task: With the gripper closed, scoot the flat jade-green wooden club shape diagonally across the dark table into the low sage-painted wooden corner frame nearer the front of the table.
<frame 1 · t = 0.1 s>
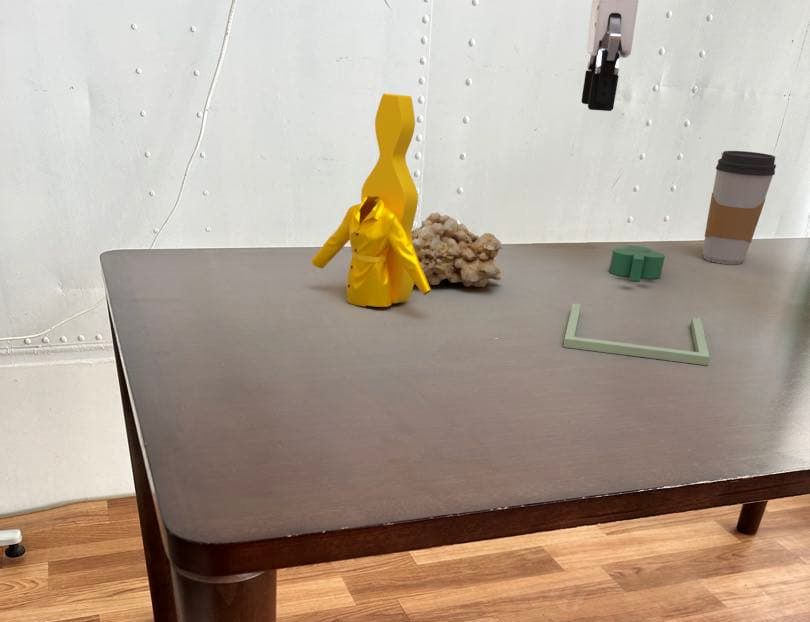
hand: (596, 107, 109), 20 cm above the table, tool pointing down, fingers open, 9 cm apart
mineral formation: (450, 280, 109), on the table
club: (634, 272, 117), on the table
pocket: (634, 335, 93), on the table
coffee cup: (722, 261, 127), on the table
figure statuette: (377, 303, 98), on the table
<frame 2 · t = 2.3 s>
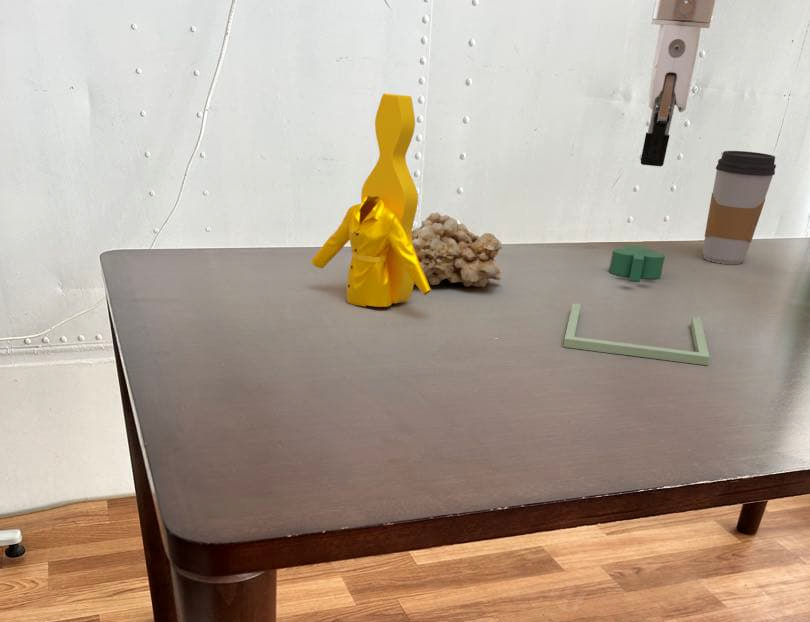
hand: (651, 164, 117), 13 cm above the table, tool pointing down, fingers closed
nothing on the table moved.
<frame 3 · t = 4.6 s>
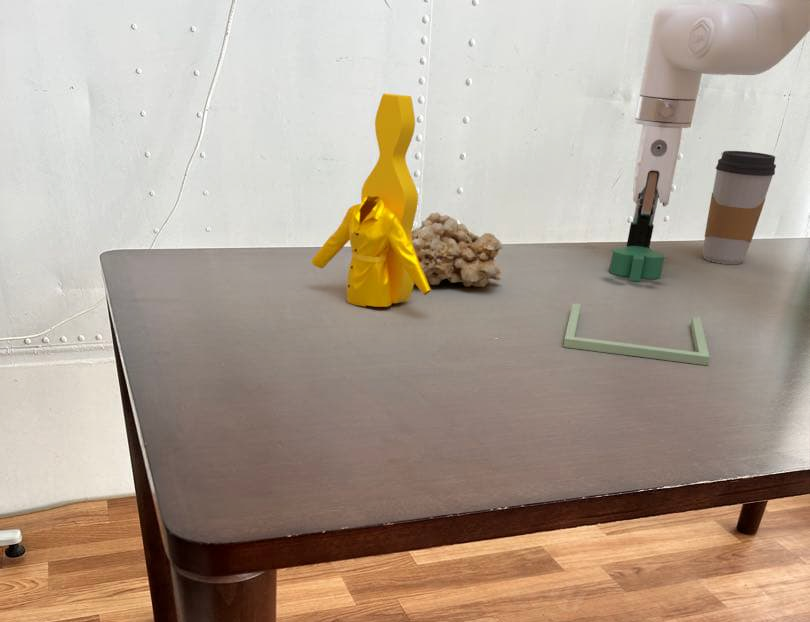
hand: (636, 252, 120), 2 cm above the table, tool pointing down, fingers closed
club: (634, 272, 117), on the table, touching gripper
everything else where it was.
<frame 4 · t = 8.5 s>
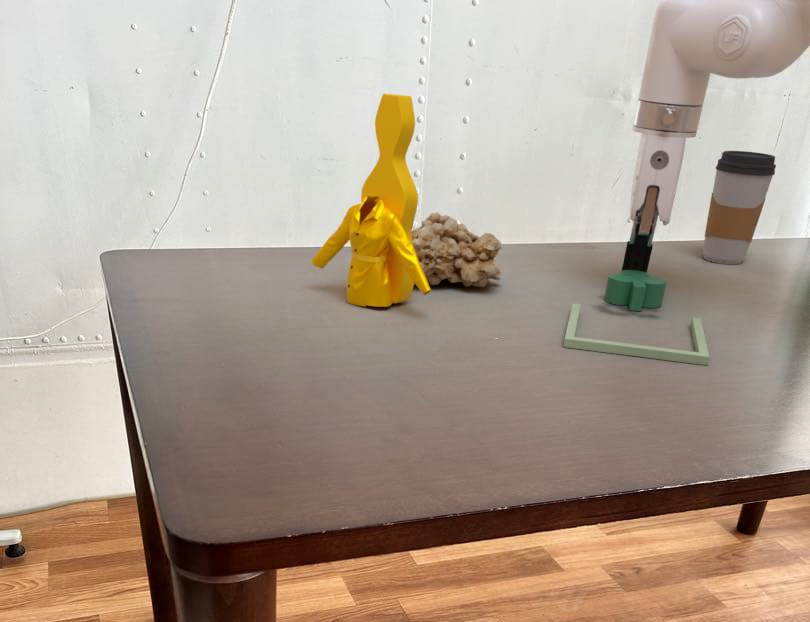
hand: (633, 274, 108), 2 cm above the table, tool pointing down, fingers closed
club: (632, 300, 105), on the table, touching gripper
everything else where it was.
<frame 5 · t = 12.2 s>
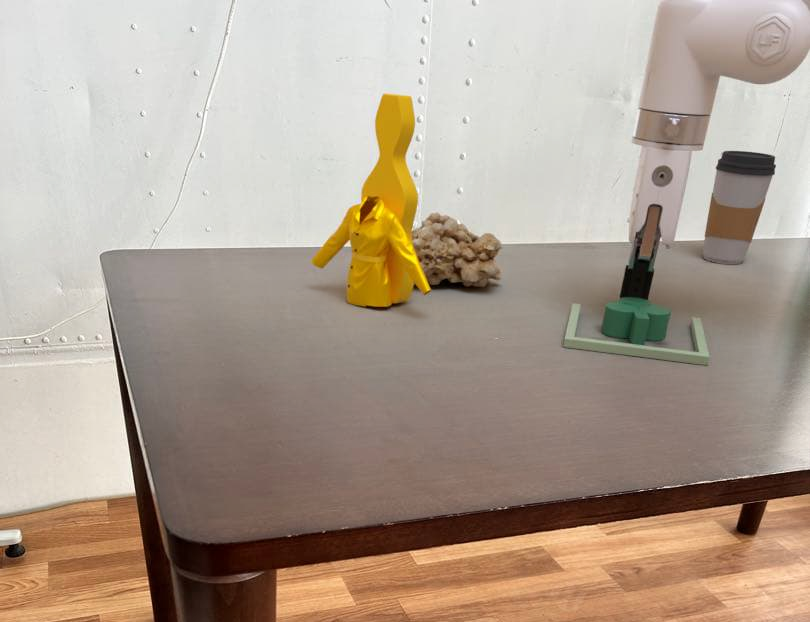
hand: (632, 302, 97), 2 cm above the table, tool pointing down, fingers closed
club: (631, 331, 94), on the table, touching gripper
everything else where it was.
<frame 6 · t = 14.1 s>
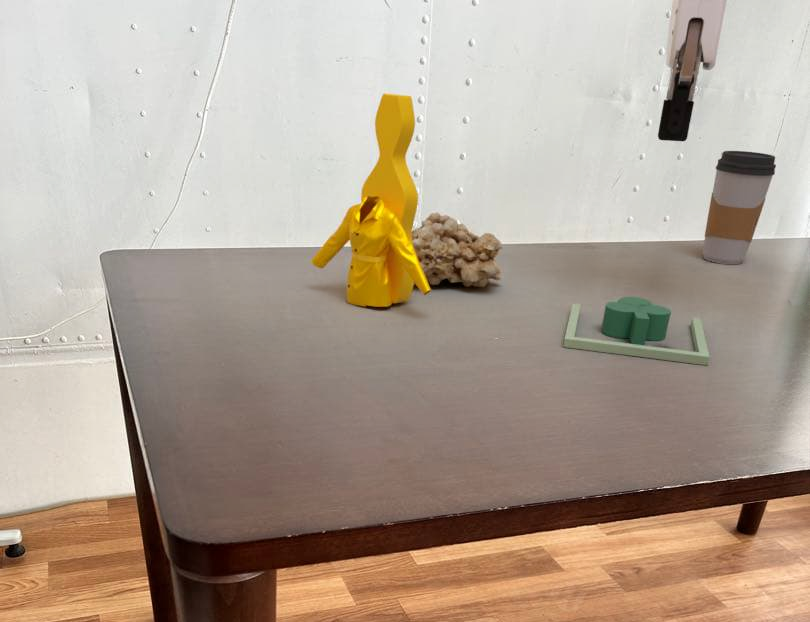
hand: (671, 139, 94), 19 cm above the table, tool pointing down, fingers closed
club: (631, 331, 94), on the table
everything else where it was.
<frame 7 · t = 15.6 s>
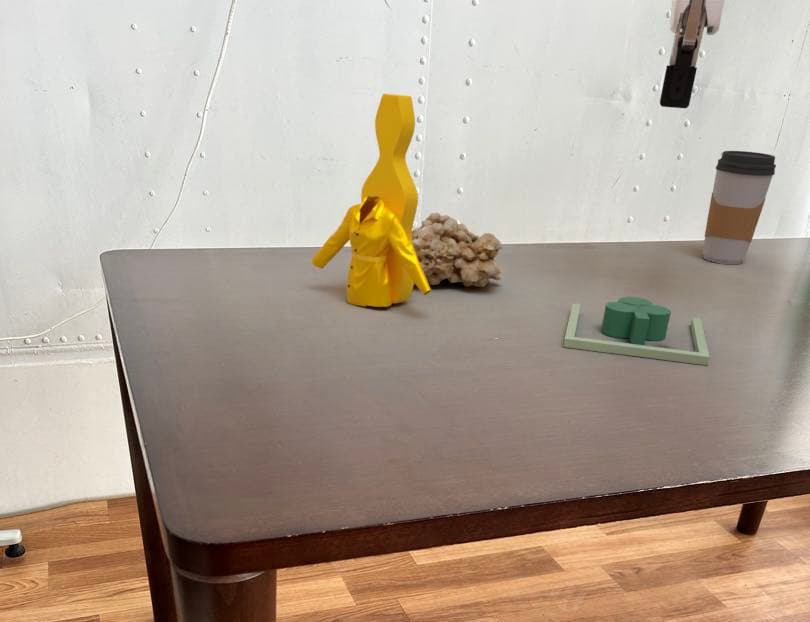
hand: (673, 106, 93), 22 cm above the table, tool pointing down, fingers closed
nothing on the table moved.
at the end: club 1.2 cm from the pocket (horizontally); club moved 28.5 cm from its start; club tilted 0° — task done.
